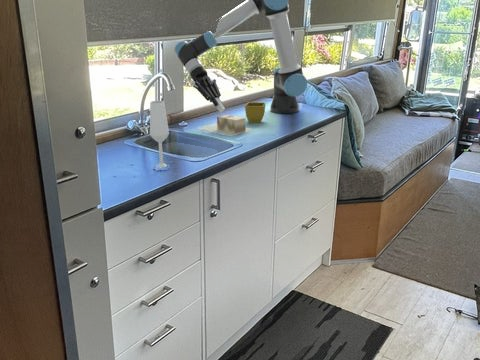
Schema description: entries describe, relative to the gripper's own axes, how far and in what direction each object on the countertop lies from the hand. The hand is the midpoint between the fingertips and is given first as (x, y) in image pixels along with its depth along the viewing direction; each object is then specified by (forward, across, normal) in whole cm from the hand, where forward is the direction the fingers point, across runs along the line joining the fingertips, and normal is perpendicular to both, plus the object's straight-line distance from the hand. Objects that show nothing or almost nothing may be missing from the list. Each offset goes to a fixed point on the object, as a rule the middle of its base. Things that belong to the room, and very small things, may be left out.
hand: (222, 110), depth 229 cm
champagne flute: (+23, +54, +10) cm, 59 cm away
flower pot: (+8, -21, -6) cm, 23 cm away
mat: (+7, 0, -6) cm, 9 cm away
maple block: (+3, 0, -4) cm, 5 cm away
